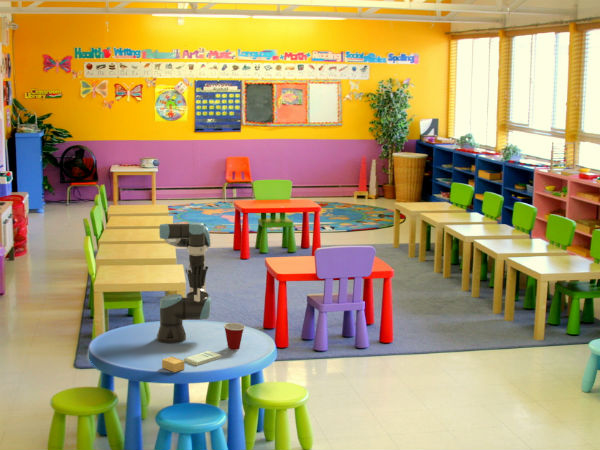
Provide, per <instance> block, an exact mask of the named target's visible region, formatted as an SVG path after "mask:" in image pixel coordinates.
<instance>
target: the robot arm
mask: <svg viewBox="0 0 600 450" xmlns="http://www.w3.org/2000/svg"><path fill="white" fill-rule="evenodd" d="M158 228H159V231H158V233H159V238H160V239H161V240H164V242H166V244H168V245H169V246H173V247H176V248H186V251H187V252H188V254H189V257H188V258H189V259H188V262H189V264H188V266H189V268H188V269H185V273H186V275H187V279H188V284H189V291H188V293H187V292H186V297H183V295H182V294H179V293H173V294H168V295H165V296H163V297H161V298H160V300H159V328H158V331H157V335H156V340H157V342H159V343H163V344H178V343H182V342H184V341H186V339H187V334H186V331H185V328H184V325H183V321H191V320H192V321H193V320H194V321H197V320H198V321H202V320H208V319H209V318H210V314H211V310H212V309H211V305H212V297H211V296H210V294H209V292H207V288H206V285H207V283H206V282H207V281H206V276H207V272H208V269H209V266H206V252H207V251H208V250H209V248H210V247H211V235H210V230H209V228H208V227H207V226H206V225H205V224H204V223H203V222H196V221H195V222H190V223H161V224H160V225H159V227H158Z"/></svg>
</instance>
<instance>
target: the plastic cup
mask: <svg viewBox="0 0 600 450" xmlns="http://www.w3.org/2000/svg"><path fill="white" fill-rule="evenodd" d="M223 328H224V331H225V338H226V344H227V348H228V349H229V350H231V351H235V350H239V349H240V347H241V342H242V339H243V338H242V337H243V333H244V330H245V328H246V326H245V325H244V324H242V323H238V322H237V323H236V322H227V323H225V324H224V325H223Z"/></svg>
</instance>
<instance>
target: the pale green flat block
mask: <svg viewBox="0 0 600 450" xmlns="http://www.w3.org/2000/svg"><path fill="white" fill-rule="evenodd" d="M221 358H222V354H220V353H217V352H214V351H211V350H206V351H203V352H201V353H196V354H194V355H191V356H187V357H184V359H183V361H184V363H185V362H186V363H188V364H191V365H194V366H199V365H203V364H206V363H209V362H212V361H216V360H218V359H221Z"/></svg>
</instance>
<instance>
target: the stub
mask: <svg viewBox="0 0 600 450" xmlns="http://www.w3.org/2000/svg"><path fill="white" fill-rule="evenodd" d="M161 360H162V361H161V362H162V363H161V368H162V369H165V370H168V371H171V372H173V373H177V372H180V371H183V370H185V361H184V359H182V358H181V359H180V358H177V357H175V356H168V357H166V358H163V359H161Z"/></svg>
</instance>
